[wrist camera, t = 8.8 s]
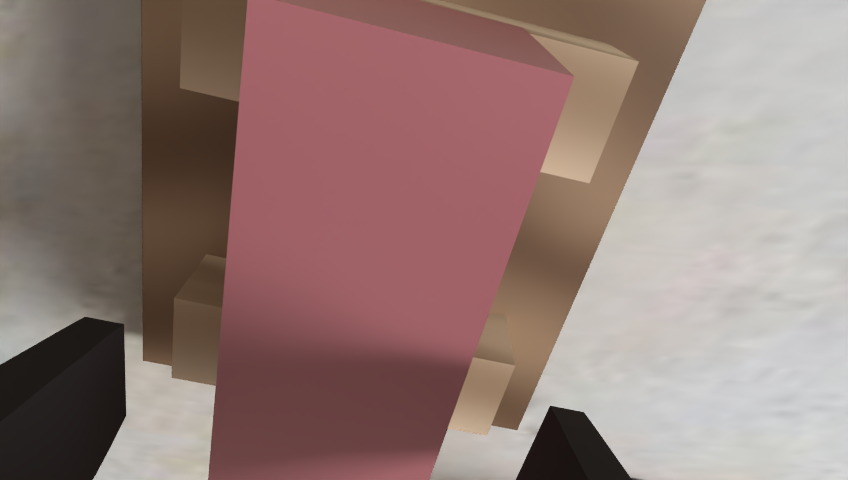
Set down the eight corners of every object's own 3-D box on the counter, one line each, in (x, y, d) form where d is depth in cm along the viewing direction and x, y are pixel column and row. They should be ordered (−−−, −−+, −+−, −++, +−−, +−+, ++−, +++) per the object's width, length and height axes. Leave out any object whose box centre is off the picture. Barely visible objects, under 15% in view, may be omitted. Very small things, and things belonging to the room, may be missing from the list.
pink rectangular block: (404, 418, 18) (394, 576, 13) (261, 392, 17) (202, 546, 13) (523, 28, 12) (574, 76, 8) (318, -27, 12) (248, -7, 7)
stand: (512, 401, 23) (526, 486, 19) (161, 334, 21) (106, 412, 18) (689, -22, 15) (767, -11, 12) (168, -166, 14) (78, -202, 10)
